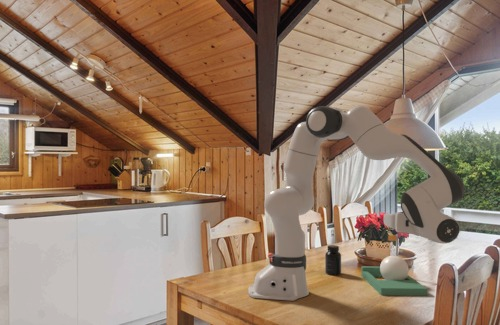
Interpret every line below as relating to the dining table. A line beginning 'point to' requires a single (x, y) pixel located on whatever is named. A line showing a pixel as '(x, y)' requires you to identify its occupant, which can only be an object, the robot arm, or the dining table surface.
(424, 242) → the dining table surface
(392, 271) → the ball
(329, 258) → the supplement bottle
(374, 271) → the putting mat
